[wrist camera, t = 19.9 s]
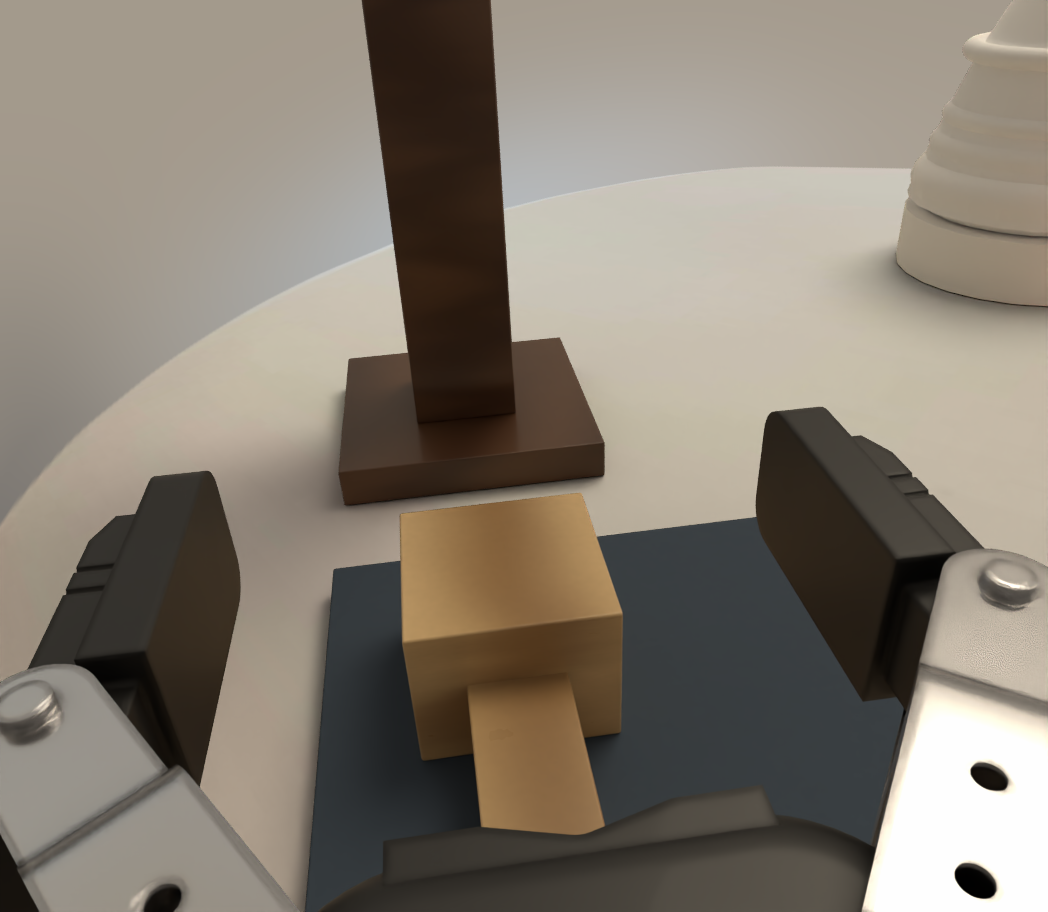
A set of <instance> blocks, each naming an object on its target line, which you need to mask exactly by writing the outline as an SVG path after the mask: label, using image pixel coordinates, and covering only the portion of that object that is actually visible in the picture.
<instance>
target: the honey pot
mask: <svg viewBox="0 0 1048 912" xmlns="http://www.w3.org/2000/svg"><path fill="white" fill-rule="evenodd" d="M962 52H963V54H964V56H965V58H966V59H967V60H969V61H971V62H973V63H972V64H971V66H970V68H969V69H968V71H967V73H966V75H965V77H964V78H963V80H962V82H961V84H960V86H959V87H958V89H957V91H956V93H955V95H954V97H953V98H952V99H951V100H950V101H949V102H947V104H946V105H945V106H944V107H943V110H942V116H943V118H942V120H941V122H940V123H939V125H938V126H937V127H936V128H935V130H934V131H933V132H932V134H931V136H930V138H929V146H928V148H927V150H926V151H925V152H924V153H923V154H922V155H921V157H919V159H918V160H917V161H916V162H915V163H914V166H913V169H912V171H911V184H910V186H909V188H908V195H909V198H908V199H907V200H906V201H905V207H904V212H903V218H902V223H901V229H900V234H899V240H898V245H897V251H896V259H897V263H898V264H899V266H900V267H901V268H902V269H903V270H904V271H905V272H906V273H908V274H909V275H911V276H913V277H915V278H916V279H918V280H920V281H922V282H924V283H926V284H929V285H932V286H935V287H937V288H940V289H943V290H946V291H949V292H953V293H957V294H961V295H965V296H969V297H974V298H978V299H983V300H990V301H997V302H1004V303H1010V304H1021V305H1037V306H1048V0H1012V2H1011V3H1010V4H1009V6H1008V7H1007V9H1006V10H1005V12H1004V13H1003V15H1002V16H1001V18H1000V19H999V20H998V22H997V24H996V25H995V27H994V28H993V30H992V31H991V32H987V33H983V34H978V35H975V36H973V37H971V38H970V39H968V40H967V41H966V42H965V43H964V45H963V48H962Z"/></svg>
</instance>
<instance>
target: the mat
mask: <svg viewBox="0 0 1048 912" xmlns="http://www.w3.org/2000/svg"><path fill="white" fill-rule="evenodd" d="M597 540H598V543H599V546H600V548H601V551H602V554H603V557H604V560H605V563H606V566H607V569H608V572H609V575H610V578H611V581H612V584H613V586H614V589H615V592H616V595H617V598H618V601H619V604H620V607H621V610H622V613H623V638H622V705H621V732H620V733H616V734H609V735H602V736H595V737H588V738H584V740H585V744H586V748H587V753H588V757H589V761H590V765H591V769H592V773H593V777H594V781H595V786H596V790H597V794H598V798H599V802H600V806H601V810H602V815H603V819H604V823H605V826H606V825H608V824H611V823H613V822H616V821H618V820H620V819H623V818H625V817H628V816H630V815H632V814H635V813H637V812H640V811H642V810H645V809H647V808H649V807H652V806H654V805H657V804H659V803H661V802H664V801H666V800H669V799H671V798H676V797H683V796H689V795H696V794H703V793H710V792H716V791H723V790H730V789H737V788H743V787H750V786H757V785H763V787H764V790H765V792H766V794H767V796H768V799H769V801H770V803H771V806H772V808H773V810H774V812H775V815H784V816H790V817H795V818H800V819H805V820H810V821H813V822H816V823H820V824H823V825H826V826H829V827H832V828H835V829H837V830H840V831H842V832H844V833H847V834H849V835H852V836H854V837H856V838H858V839H860V840H862V841H864V842H866V843H867V844H870V840H871V836H872V833H873V829H874V825H875V821H876V816H877V812H878V808H879V804H880V800H881V796H882V792H883V788H884V784H885V780H886V776H887V772H888V768H889V764H890V760H891V756H892V752H893V748H894V744H895V740H896V736H897V732H898V728H899V724H900V720H901V717H902V713H903V709H904V708H903V706H902V705H901V703H900V702H899V700H898V699H897V697H894V698H887V699H880V700H873V701H865V702H863V701H862V700H861V698H860V697H859V695H858V693H857V692H856V690H855V688H854V687H853V685H852V683H851V682H850V680H849V679H848V677H847V675H846V674H845V672H844V670H843V669H842V667H841V666H840V664H839V662H838V661H837V659H836V657H835V656H834V654H833V653H832V651H831V649H830V648H829V646H828V644H827V643H826V641H825V639H824V638H823V636H822V635H821V633H820V631H819V630H818V628H817V626H816V625H815V623H814V622H813V620H812V618H811V617H810V615H809V613H808V612H807V610H806V608H805V607H804V605H803V604H802V602H801V600H800V599H799V597H798V595H797V594H796V592H795V591H794V589H793V587H792V586H791V584H790V582H789V581H788V579H787V577H786V576H785V574H784V573H783V571H782V569H781V568H780V566H779V564H778V563H777V561H776V560H775V558H774V556H773V555H772V553H771V551H770V550H769V548H768V546H767V545H766V543H765V542H764V540H763V538H762V535H761V533H760V530H759V526H758V522H757V517H754V518H746V519H737V520H729V521H721V522H713V523H705V524H697V525H689V526H680V527H672V528H664V529H656V530H648V531H640V532H631V533H623V534H615V535H607V536H599V537H597ZM473 827H481V822H480V813H479V803H478V793H477V784H476V774H475V764H474V754H469V755H461V756H454V757H447V758H440V759H433V760H426V761H423V760H422V758H421V753H420V747H419V741H418V735H417V729H416V723H415V717H414V711H413V705H412V699H411V693H410V687H409V681H408V675H407V669H406V663H405V657H404V651H403V646H402V617H401V564H400V561H395V562H387V563H379V564H371V565H363V566H354V567H346V568H338V569H334V571H333V582H332V594H331V606H330V618H329V630H328V642H327V654H326V666H325V678H324V690H323V702H322V714H321V726H320V738H319V750H318V762H317V774H316V786H315V798H314V810H313V822H312V834H311V846H310V858H309V870H308V882H307V894H306V905H305V912H317V911H319V910H320V909H321V908H322V907H323V906H325V905H326V904H328V903H329V902H330V901H332V900H333V899H335V898H336V897H338V896H339V895H340V894H342V893H343V892H345V891H347V890H348V889H350V888H352V887H354V886H356V885H358V884H359V883H361V882H363V881H365V880H367V879H369V878H372V877H374V876H376V875H379V874H381V873H383V841H386V840H392V839H399V838H406V837H413V836H419V835H426V834H433V833H440V832H446V831H453V830H460V829H467V828H473Z"/></svg>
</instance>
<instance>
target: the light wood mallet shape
mask: <svg viewBox="0 0 1048 912" xmlns="http://www.w3.org/2000/svg"><path fill="white" fill-rule="evenodd" d="M400 564H401V617H402V646H403V651H404V657H405V663H406V669H407V675H408V681H409V687H410V693H411V699H412V705H413V711H414V717H415V723H416V729H417V735H418V741H419V747H420V753H421V758H422V760H423V761H426V760H433V759H440V758H447V757H454V756H461V755H469V754H474V764H475V774H476V784H477V793H478V803H479V813H480V822H481V827H489V828H500V829H512V830H523V831H534V832H546V833H557V834H569V835H579V834H585V833H588V832H592V831H594V830H596V829H599V828H601V827H604V826H605V823H604V819H603V815H602V810H601V806H600V802H599V798H598V794H597V790H596V786H595V781H594V777H593V773H592V769H591V765H590V761H589V757H588V753H587V748H586V744H585V740H584V738H588V737H595V736H602V735H609V734H616V733H620V732H621V705H622V638H623V613H622V610H621V607H620V604H619V601H618V598H617V595H616V592H615V589H614V586H613V584H612V581H611V578H610V575H609V572H608V569H607V566H606V563H605V560H604V557H603V554H602V551H601V548H600V546H599V543H598V540H597V537H596V534H595V531H594V528H593V525H592V522H591V519H590V516H589V513H588V511H587V508H586V505H585V502H584V499H583V496H582V494H581V493H573V494H565V495H556V496H548V497H539V498H531V499H522V500H513V501H505V502H496V503H488V504H479V505H471V506H462V507H454V508H445V509H437V510H428V511H419V512H411V513H402V514H400Z"/></svg>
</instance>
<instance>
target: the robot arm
mask: <svg viewBox="0 0 1048 912" xmlns="http://www.w3.org/2000/svg"><path fill="white" fill-rule="evenodd" d="M756 516H757V522H758V526H759V530H760V533H761V535H762V538H763V540H764V542H765V543H766V545H767V546H768V548H769V550H770V551H771V553H772V555H773V556H774V558H775V560H776V561H777V563H778V564H779V566H780V568H781V569H782V571H783V573H784V574H785V576H786V577H787V579H788V581H789V582H790V584H791V586H792V587H793V589H794V591H795V592H796V594H797V595H798V597H799V599H800V600H801V602H802V604H803V605H804V607H805V608H806V610H807V612H808V613H809V615H810V617H811V618H812V620H813V622H814V623H815V625H816V626H817V628H818V630H819V631H820V633H821V635H822V636H823V638H824V639H825V641H826V643H827V644H828V646H829V648H830V649H831V651H832V653H833V654H834V656H835V657H836V659H837V661H838V662H839V664H840V666H841V667H842V669H843V670H844V672H845V674H846V675H847V677H848V679H849V680H850V682H851V683H852V685H853V687H854V688H855V690H856V692H857V693H858V695H859V697H860V698H861V700H862V701H863V702H865V701H873V700H880V699H887V698H894V697H897V699H898V700H899V702H900V703H901V705H902V706H903V708H904V709H903V713H902V717H901V720H900V724H899V728H898V732H897V736H896V740H895V744H894V748H893V752H892V756H891V760H890V764H889V768H888V772H887V776H886V780H885V784H884V788H883V792H882V796H881V800H880V804H879V808H878V812H877V816H876V821H875V825H874V829H873V833H872V836H871V840H870V844H867V843H866V842H864V841H862V840H860V839H858V838H856V837H854V836H852V835H849V834H847V833H844V832H842V831H840V830H837V829H835V828H832V827H829V826H826V825H823V824H820V823H816V822H813V821H810V820H805V819H800V818H795V817H790V816H784V815H775V812H774V810H773V808H772V806H771V803H770V801H769V799H768V796H767V794H766V792H765V790H764V787H763V785H757V786H750V787H743V788H737V789H730V790H723V791H716V792H710V793H703V794H696V795H689V796H683V797H676V798H671V799H669V800H666V801H664V802H661V803H659V804H657V805H654V806H652V807H649V808H647V809H645V810H642V811H640V812H637V813H635V814H632V815H630V816H628V817H625V818H623V819H620V820H618V821H616V822H613V823H611V824H608V825H606V826H604V827H601V828H599V829H596V830H594V831H592V832H588V833H585V834H579V835H569V834H557V833H546V832H534V831H523V830H512V829H500V828H489V827H473V828H467V829H460V830H453V831H446V832H440V833H433V834H426V835H419V836H413V837H406V838H399V839H392V840H386V841H383V873H381V874H379V875H376V876H374V877H372V878H369V879H367V880H365V881H363V882H361V883H359V884H358V885H356V886H354V887H352V888H350V889H348V890H347V891H345V892H343V893H342V894H340V895H339V896H338V897H336V898H335V899H333V900H332V901H330V902H329V903H328V904H326V905H325V906H323V907H322V908H321V909H320V910H319V911H317V912H1048V567H1046V566H1045V565H1043V564H1041V563H1039V562H1037V561H1035V560H1033V559H1030V558H1028V557H1025V556H1023V555H1019V554H1016V553H1012V552H1008V551H1003V550H996V549H984V548H983V547H982V546H981V544H980V543H979V542H978V541H977V540H976V539H975V538H974V537H973V536H972V535H971V534H970V533H969V532H968V531H967V530H966V529H965V528H964V527H963V526H962V525H961V524H960V523H959V522H958V520H957V519H956V518H955V517H954V516H953V515H952V514H951V513H950V512H949V511H948V510H947V509H946V508H945V507H944V506H943V505H942V504H941V503H940V502H939V501H938V500H937V499H936V498H935V496H934V495H929V493H928V489H927V488H926V487H925V486H924V485H923V484H922V483H921V482H920V481H919V480H918V479H917V478H916V477H912V472H911V471H910V470H909V469H908V468H907V467H906V466H905V465H904V464H903V463H902V462H901V461H900V460H899V459H898V458H897V457H896V456H895V455H894V454H893V453H892V452H891V451H889V450H887V449H885V448H883V447H882V446H880V445H878V444H876V443H874V442H872V441H871V440H869V439H867V438H865V437H863V436H861V435H860V436H851V435H850V434H849V433H848V432H847V431H846V430H845V429H844V428H843V427H842V425H841V424H840V423H839V422H838V421H837V420H836V419H835V418H834V417H833V416H832V414H831V413H830V412H829V411H828V410H827V409H826V408H824V407H813V408H803V409H794V410H785V411H775V412H771V413H770V414H769V416H768V417H767V420H766V423H765V428H764V436H763V444H762V452H761V460H760V469H759V477H758V485H757V493H756ZM76 568H77V573H74V574H73V576H72V578H71V580H70V582H69V584H68V586H67V588H66V595H63V597H62V599H61V601H60V603H59V605H58V607H57V609H56V611H55V613H54V615H53V617H52V619H51V621H50V624H49V626H48V628H47V630H46V632H45V634H44V636H43V638H42V640H41V642H40V644H39V646H38V649H37V651H36V653H35V655H34V657H33V659H32V661H31V663H30V665H29V667H28V669H27V670H25V671H23V672H20V673H17V674H15V675H13V676H11V677H9V678H7V679H5V680H3V681H1V682H0V912H300V911H299V909H298V908H297V907H296V906H295V905H294V903H293V902H292V901H291V900H290V898H289V897H288V896H287V895H286V893H285V892H284V891H283V890H282V888H281V887H280V886H279V885H278V884H277V882H276V881H275V880H274V879H273V877H272V876H271V875H270V874H269V872H268V871H267V870H266V869H265V868H264V866H263V865H262V864H261V863H260V861H259V860H258V859H257V858H256V856H255V855H254V854H253V853H252V852H251V850H250V849H249V848H248V847H247V845H246V844H245V843H244V842H243V840H242V839H241V838H240V837H239V835H238V834H237V833H236V832H235V831H234V829H233V828H232V827H231V826H230V824H229V823H228V822H227V821H226V819H225V818H224V817H223V816H222V815H221V813H220V812H219V811H218V810H217V808H216V807H215V806H214V805H213V803H212V802H211V801H210V800H209V798H208V797H207V796H206V795H205V794H204V792H203V791H202V790H201V789H200V783H201V778H202V774H203V769H204V764H205V760H206V755H207V750H208V746H209V741H210V736H211V732H212V727H213V723H214V718H215V713H216V709H217V704H218V699H219V695H220V690H221V685H222V681H223V676H224V672H225V667H226V662H227V658H228V653H229V648H230V644H231V639H232V634H233V630H234V625H235V621H236V616H237V611H238V607H239V601H240V571H239V564H238V559H237V555H236V552H235V548H234V545H233V541H232V537H231V534H230V530H229V527H228V523H227V520H226V516H225V512H224V509H223V505H222V502H221V498H220V494H219V491H218V487H217V484H216V481H215V479H214V477H213V475H212V474H211V472H209V471H201V472H191V473H182V474H173V475H163V476H154V477H152V478H151V479H150V481H149V483H148V486H147V488H146V490H145V493H144V495H143V497H142V500H141V502H140V504H139V507H138V509H137V511H136V514H132V515H123V516H116V517H115V518H114V519H113V520H111V521H110V522H109V523H108V524H107V525H106V526H105V527H104V528H103V529H102V530H101V531H100V532H98V533H97V534H96V535H95V536H94V537H93V538H92V539H91V540H90V541H89V542H88V544H87V547H86V549H85V551H84V553H83V555H82V557H81V559H80V561H79V563H78V565H77V567H76Z"/></svg>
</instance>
